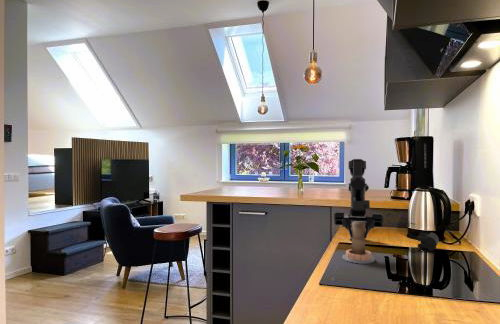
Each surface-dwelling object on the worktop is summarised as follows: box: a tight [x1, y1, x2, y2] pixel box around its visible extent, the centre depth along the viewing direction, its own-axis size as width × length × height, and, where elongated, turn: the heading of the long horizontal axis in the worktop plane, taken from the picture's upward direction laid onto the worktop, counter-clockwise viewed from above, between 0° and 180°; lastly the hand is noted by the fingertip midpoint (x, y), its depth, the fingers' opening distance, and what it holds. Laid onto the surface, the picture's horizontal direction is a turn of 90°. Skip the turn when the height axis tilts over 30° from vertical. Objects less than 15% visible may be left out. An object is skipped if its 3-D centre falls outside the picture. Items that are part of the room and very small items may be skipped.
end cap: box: [417, 231, 440, 253], centre depth 151 cm, size 10×7×7 cm
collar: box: [342, 248, 375, 265], centre depth 137 cm, size 12×12×3 cm
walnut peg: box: [351, 222, 366, 255], centre depth 137 cm, size 5×5×12 cm
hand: (358, 237), depth 136 cm, fingers closed on walnut peg, 5 cm apart
